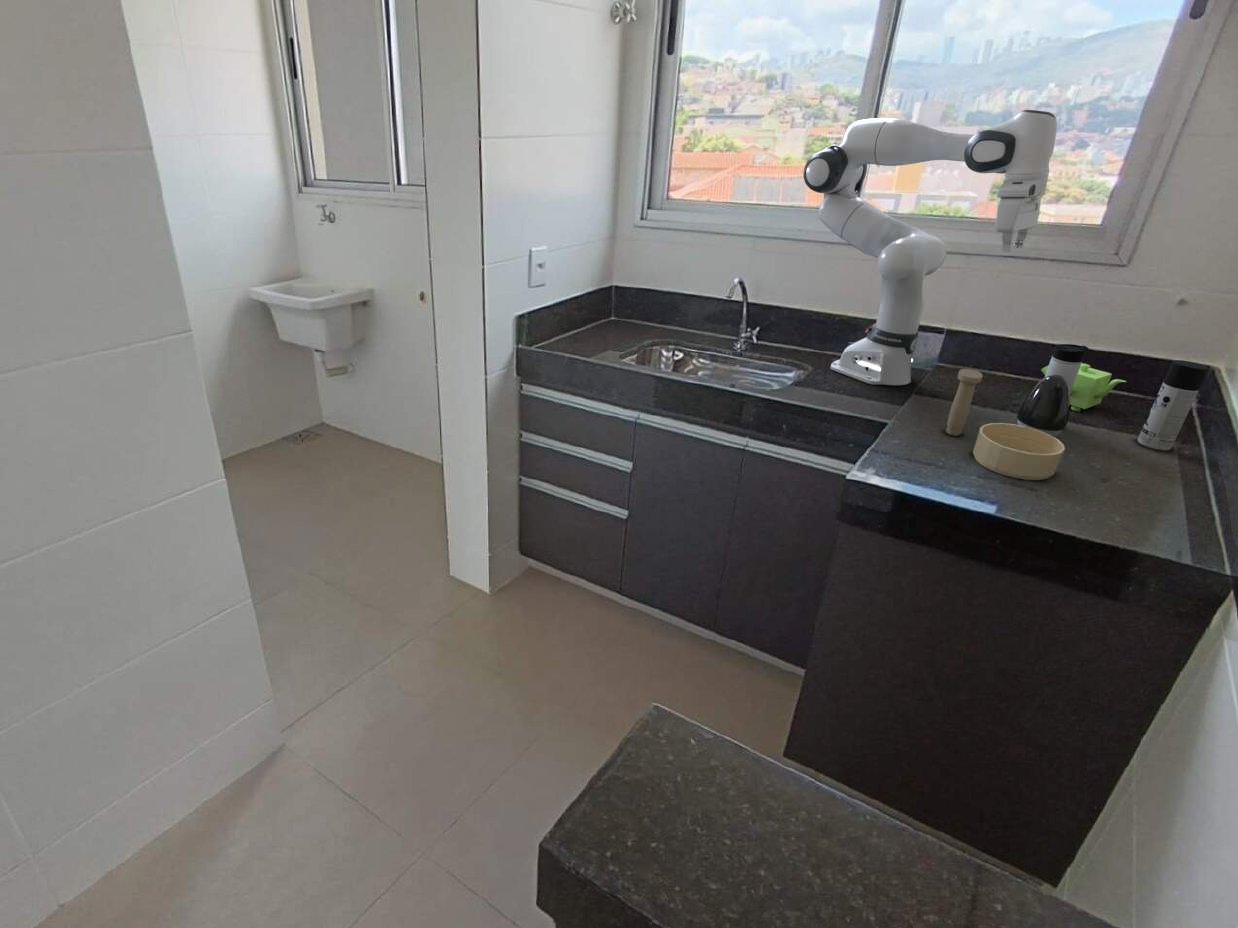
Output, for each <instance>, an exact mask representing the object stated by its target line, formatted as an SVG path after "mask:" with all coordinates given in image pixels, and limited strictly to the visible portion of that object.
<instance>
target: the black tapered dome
mask: <svg viewBox="0 0 1238 928" xmlns="http://www.w3.org/2000/svg"><path fill="white" fill-rule="evenodd" d="M1024 399H1025V400H1024V401H1022V404H1021V406H1020V408H1019V410H1018V412H1017V415H1016V419H1017V425H1021V426H1026V427H1029V428H1033V429H1036V430H1039V431H1042V432H1044V433H1047V434H1049V435H1051V436H1053V437H1055V438H1056V437H1058V436H1059V435H1060V434H1061V433H1062V432H1063V430H1065V429H1066V428H1067V424H1068V422H1069V417H1070V411H1071V410H1070V409H1071V405H1070V389H1069V385H1068V382H1067V380H1066V379H1065V378H1064V377H1062V376H1060V375H1049V376H1046V377H1045V376H1044V377H1043V378H1042V379H1040V380H1039V381H1038V382H1037V383H1036V384H1035V386H1034V387H1032V389H1031V391H1030V392H1029V393H1028V394H1027V395H1026V397H1025V398H1024Z"/></svg>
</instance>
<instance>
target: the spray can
mask: <svg viewBox="0 0 1238 928" xmlns="http://www.w3.org/2000/svg"><path fill="white" fill-rule="evenodd" d="M1208 372H1209V367H1208V366H1206V365H1205V364H1202V363H1198V362H1194V361H1193V362H1192V361H1189V360H1184V359H1183V360H1182V359H1181V360H1177V359H1176V360H1174V361H1172V363H1171V365H1170V367H1169V369H1168V370H1167V373H1166V375H1165V378H1164V380H1163V381H1162V384H1161V386H1160V388H1159V391H1158V393H1157V395H1156V397H1155V399H1154V401H1153V404H1152V406H1151V408H1150V411H1149V413H1148V415H1147V417H1146V420H1145V421H1144V424H1143V426H1142V428H1141V430H1140V433H1139V435H1138V438H1137V443H1138V444H1139V445H1141V446H1143V447H1144V448H1147V449H1150V450H1154V451H1159V452H1161V451H1162V452H1164V451H1165V452H1166V451H1170V450H1171V449H1172V448H1173V446H1174V445H1175V444H1174V443H1175V442H1176V439H1177V438H1178V435H1179V433H1180V431H1181V429H1182V427H1183V425H1184V422H1185V421H1186V419H1187V416H1188V414H1189V412H1190V410H1191V408H1192V406H1193V404H1194V402H1195V399H1196V397H1197V396H1198V393H1199V391H1200V389H1201V388H1202V385H1203V383H1204V380H1205V378H1206V377H1207V374H1208Z"/></svg>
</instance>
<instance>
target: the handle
mask: <svg viewBox="0 0 1238 928" xmlns="http://www.w3.org/2000/svg"><path fill="white" fill-rule="evenodd" d="M983 376H984V375H983V373H981V372H980V371H978V370H976V369H970V368H961V369H959V370H958V373H957V379H958V380H959V385H958V388H957V390H956V393H955V396H954V398H953V401H952V404H951V407H950V410H949V415H948V418H947V423H946V425H947V426H946V429H945V432H946V433H947V434H948V435H949V436H954V437H957V436H960V435H962V432H963V429H964V427H965V425H966V421H967V418H968V416H969V413H970V410H971V406H972V401H973V396H974V393H975V388H976V386H977V385H978V384H980V383H981V382H982V380H983Z"/></svg>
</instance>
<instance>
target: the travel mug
mask: <svg viewBox="0 0 1238 928" xmlns="http://www.w3.org/2000/svg"><path fill="white" fill-rule="evenodd" d="M1087 351H1089V347H1088V346H1086V345H1084V344H1083V345H1080V344H1073V343H1062V344H1056V345H1055V348H1054V350H1053V352H1052V353H1053V354H1052V355H1051V359H1050V361H1049V364H1048V365H1047V366H1048V369H1047V372H1046V375H1045V374H1044V378H1045V377H1046V376H1049V375H1060V376H1062V377H1064V378H1065V379H1066V380H1067V382H1068V385H1069V389H1070V393H1071V390H1072V387H1073V385H1074V382H1075V379H1076V377H1077V374H1078V371H1079V369H1080V366H1081V363H1083V359H1084V357H1085V355H1086V352H1087Z"/></svg>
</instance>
